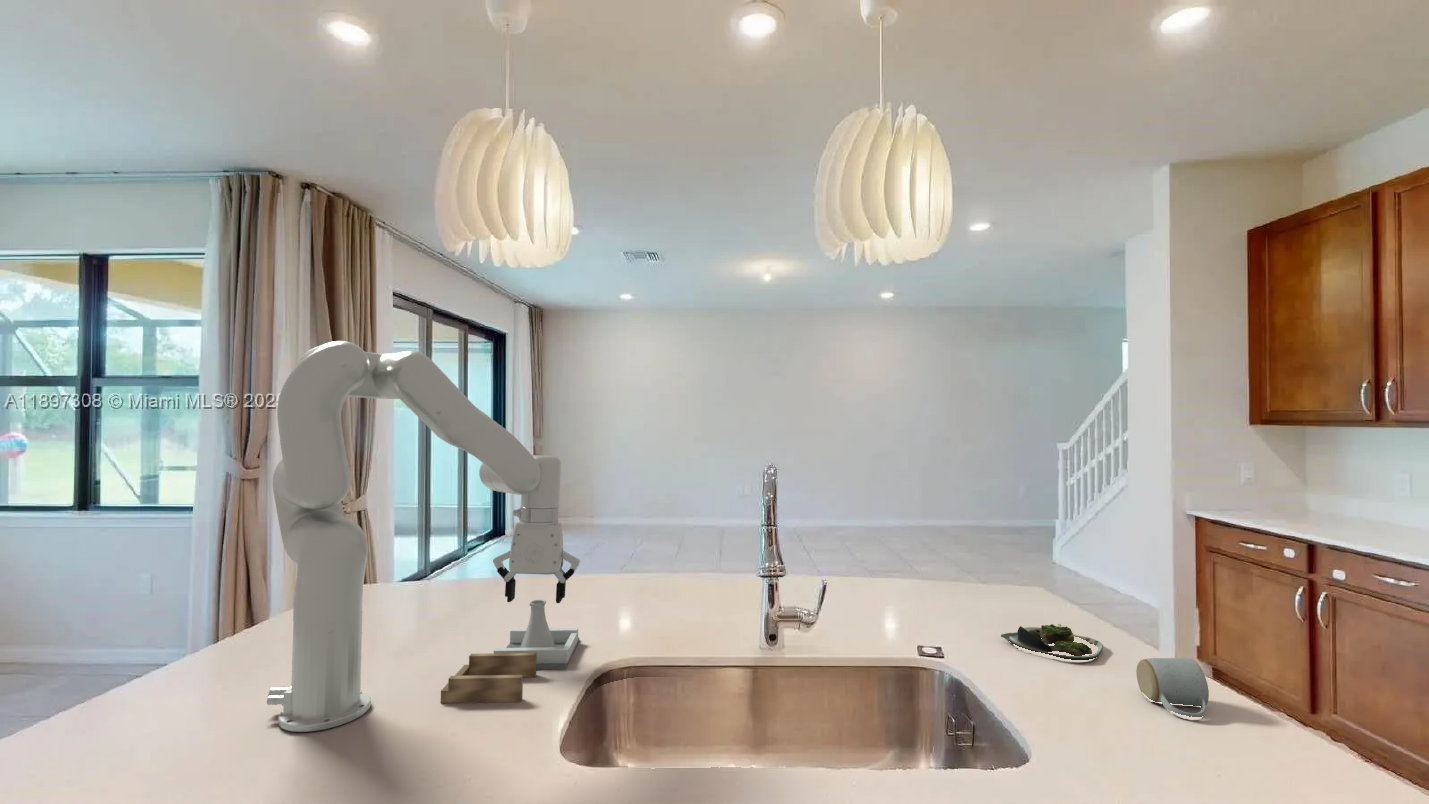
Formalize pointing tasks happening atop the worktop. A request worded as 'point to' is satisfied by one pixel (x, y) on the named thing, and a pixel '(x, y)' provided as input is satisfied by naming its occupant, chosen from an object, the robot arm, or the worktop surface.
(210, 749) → the worktop surface
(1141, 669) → the ceramic mug
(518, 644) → the dock
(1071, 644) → the salad plate
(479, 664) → the wooden u-shaped bracket
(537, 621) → the flask
